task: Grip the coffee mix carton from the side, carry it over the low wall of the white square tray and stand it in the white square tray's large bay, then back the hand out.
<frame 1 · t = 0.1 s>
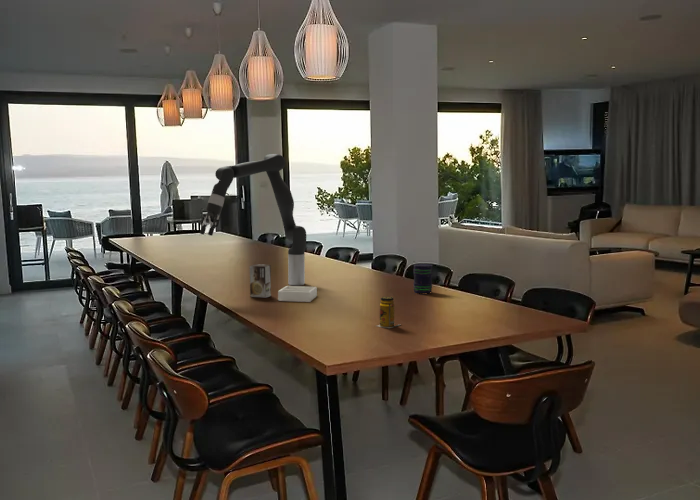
hand: (205, 234, 333), 31 cm above the table, tool tilted 20°, fingers open, 8 cm apart
coffee box: (260, 296, 335), on the table
white square tray: (297, 298, 330), on the table
condiment: (388, 326, 271), on the table
storage jar: (422, 293, 348), on the table
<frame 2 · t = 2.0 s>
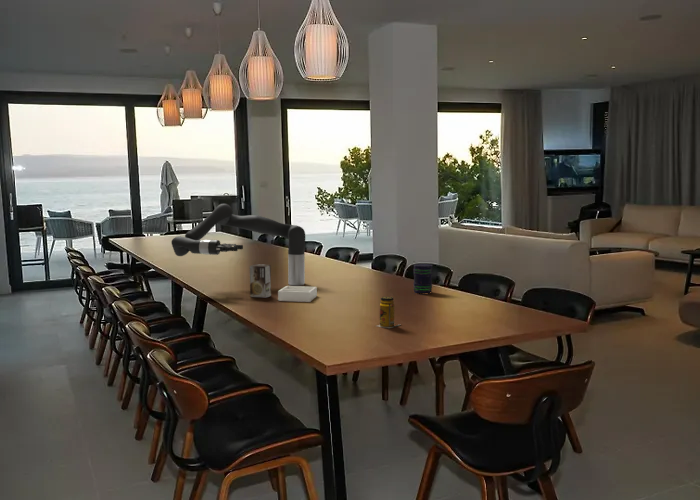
hand: (240, 248, 336), 24 cm above the table, tool horizontal, fingers open, 8 cm apart
nothing on the table moved.
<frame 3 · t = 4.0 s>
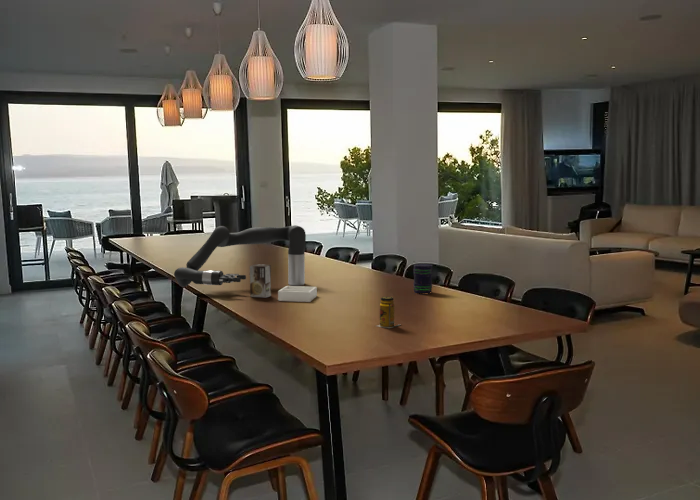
hand: (243, 278, 336), 9 cm above the table, tool horizontal, fingers open, 8 cm apart
nothing on the table moved.
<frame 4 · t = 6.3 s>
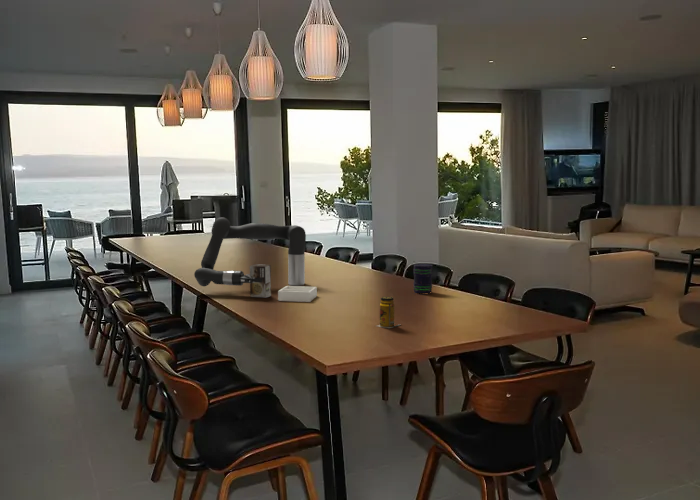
hand: (264, 278, 334), 9 cm above the table, tool horizontal, fingers closed on coffee box, 7 cm apart
coffee box: (260, 296, 335), on the table, touching gripper
everything else where it was.
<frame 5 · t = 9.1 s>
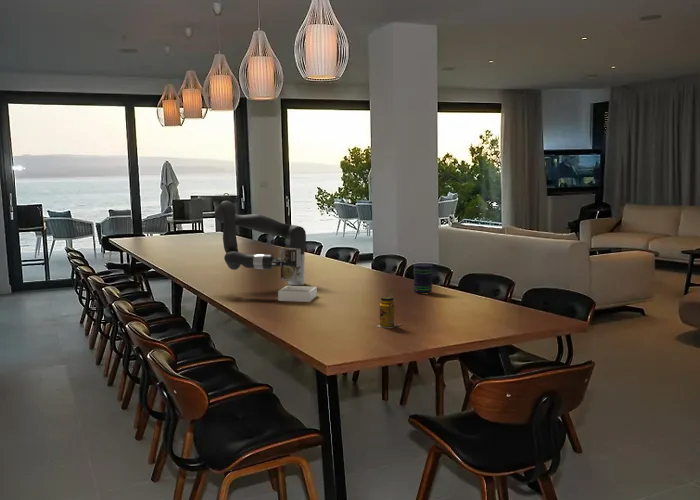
hand: (295, 262, 331), 18 cm above the table, tool horizontal, fingers closed on coffee box, 7 cm apart
coffee box: (291, 280, 332), point 8 cm above the table, touching gripper
everything else where it was.
when the fingers open (11 cm above the table, at t = 11.7 s): coffee box drops 1 cm, resting on white square tray.
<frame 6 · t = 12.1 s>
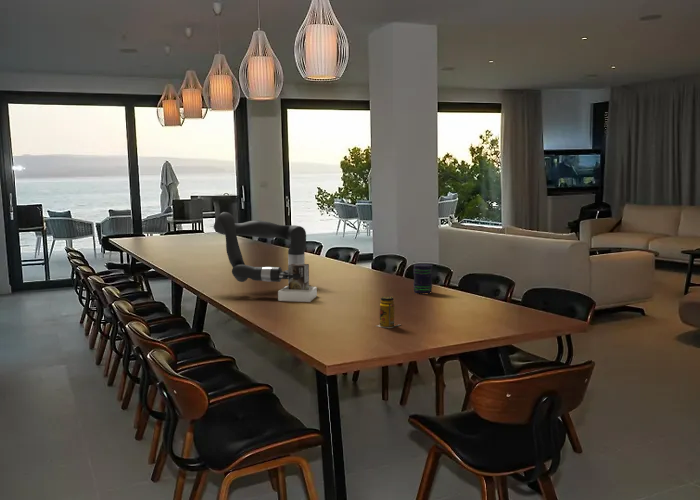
hand: (302, 275, 331), 12 cm above the table, tool horizontal, fingers open, 8 cm apart
coffee box: (298, 296, 333), point 1 cm above the table, touching white square tray
everything else where it was.
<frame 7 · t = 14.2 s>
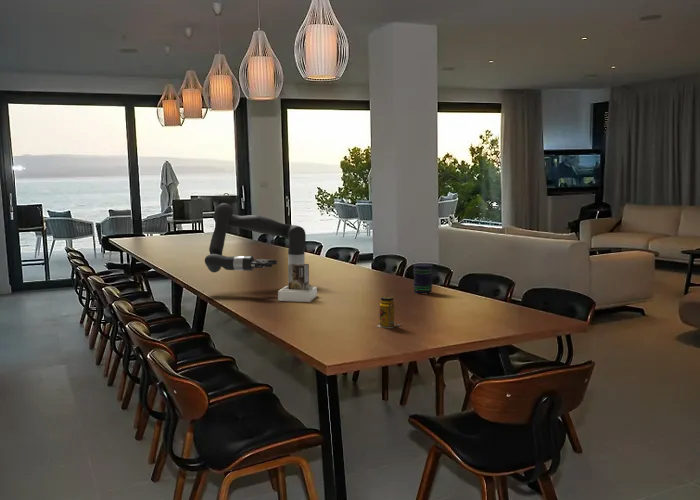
hand: (274, 263, 335), 17 cm above the table, tool horizontal, fingers open, 8 cm apart
nothing on the table moved.
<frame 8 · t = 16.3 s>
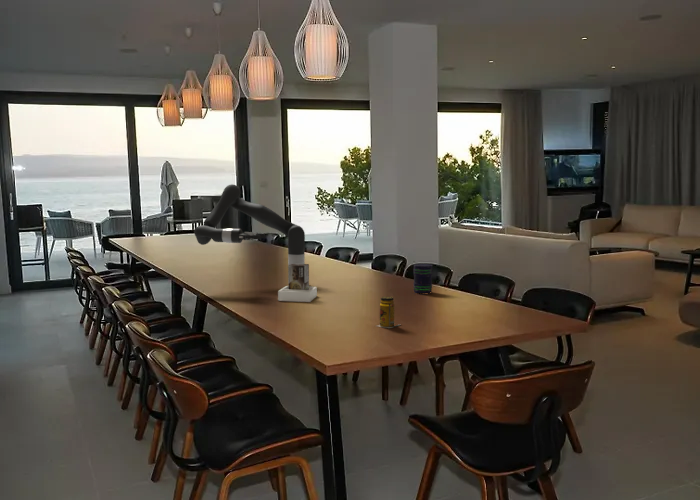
hand: (262, 236, 340), 30 cm above the table, tool horizontal, fingers open, 8 cm apart
nothing on the table moved.
at the end: coffee box inside the target area on the white square tray (0.1 cm from its centre), point 0.6 cm above the white square tray's base; coffee box tilted 0°; the gripper is holding nothing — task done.
